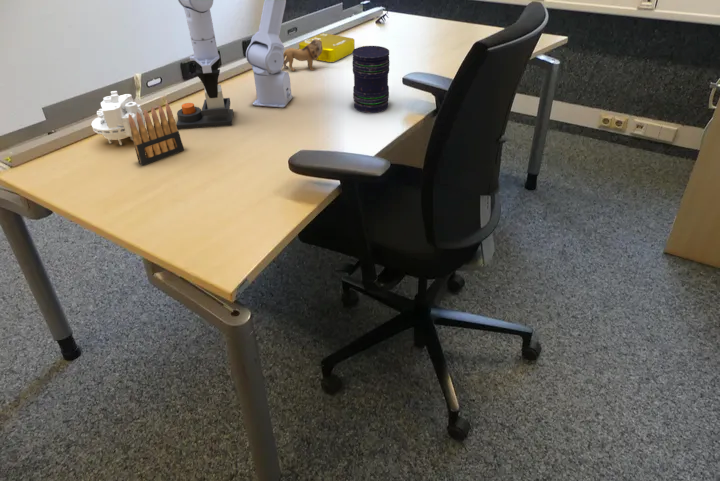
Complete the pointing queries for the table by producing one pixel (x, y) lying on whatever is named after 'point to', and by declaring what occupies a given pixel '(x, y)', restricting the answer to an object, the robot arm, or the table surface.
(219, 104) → the block
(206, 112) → the adapter socket
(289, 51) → the lion figurine
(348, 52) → the element tile
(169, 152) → the ammunition clip
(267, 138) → the table surface
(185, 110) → the power button
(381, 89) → the storage jar
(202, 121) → the black docking base
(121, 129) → the mechanical part
